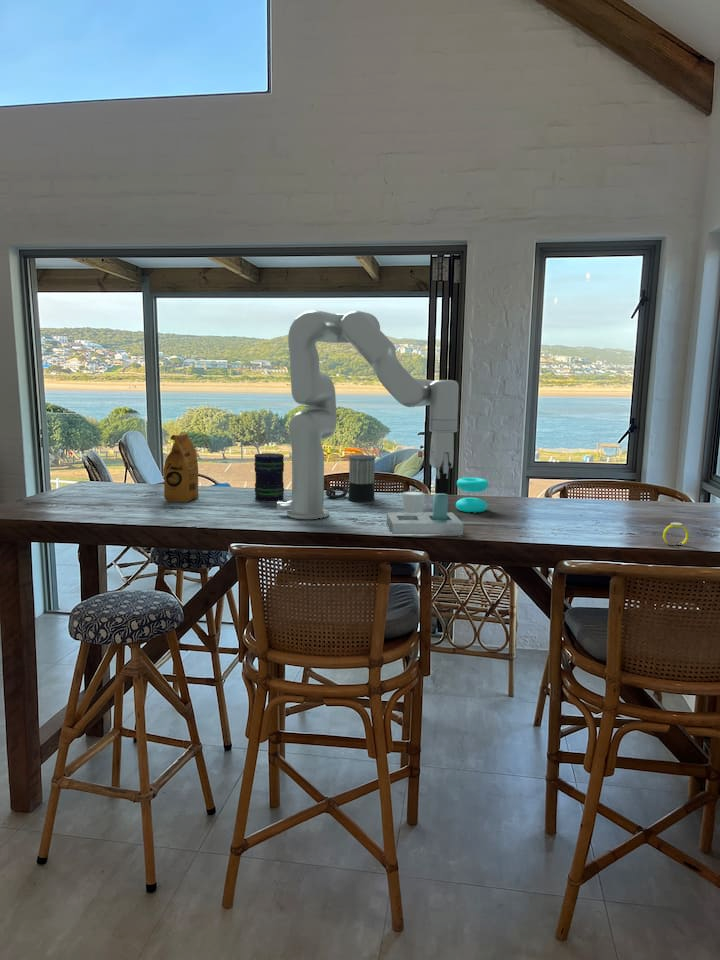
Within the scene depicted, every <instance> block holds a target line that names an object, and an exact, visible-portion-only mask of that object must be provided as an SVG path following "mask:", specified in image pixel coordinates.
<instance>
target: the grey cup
mask: <svg viewBox="0 0 720 960" xmlns="http://www.w3.org/2000/svg"><path fill="white" fill-rule="evenodd" d="M425 496H426V493H425V492H422V491H415V490H411V491H404V492H402V504H403V505H402V507H403V512H424V506H425V498H426V497H425Z"/></svg>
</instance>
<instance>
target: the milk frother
mask: <svg viewBox="0 0 720 960" xmlns="http://www.w3.org/2000/svg"><path fill="white" fill-rule="evenodd" d="M348 459H349V467H348V469H349V471H348V476H349V477H348V478H349V479H348V480H349V482H348V483H349V484H348V489H347V488H345V487H344V486H342V485H333V486H331V487H329V488H327V489H326V490H325V495H326V496H327V498H328V497H329V498H330V499H331V498H332V499H343V498H345V497H346V496H347V495H348V498H347V500H348V501H350V502H354V503H356V502H357V503H370V502H373V501H375V468H376V467H375V463H376V462H375V461H376V456H374V455H373V456H372V455H366V454H365V455H363V454H362V455H361V454H360V455H359V454H357V455H349V456H348ZM337 490H339V491H342V492H343V493H341V494H336V491H337Z"/></svg>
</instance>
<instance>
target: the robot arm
mask: <svg viewBox="0 0 720 960" xmlns="http://www.w3.org/2000/svg"><path fill="white" fill-rule="evenodd" d="M287 335H288V336H287V337H288V338H287V341H288V352H289V370H290V372H289V373H290V387H291V388H290V389H291V396H292V399H293V400H294V402H295V403H297V404H299V405H301V406H307V409H303V410H300V411H298V412H296V413H295V414H294V415H293V416H292V417H291V418H290V420H289V424H288V434H289V439H290V447H291V448H290V449H291V499H290V500H288V501H287V502H286V501H285V502H284V501H276V509H281V510H287V511H286V515H287V517H288V518H292V519H297V520H319V519H318V518H320V519H324V518H327V517H328V516H329V514H330V513H329V510H328V509H325V507H324V506H325V503H324V501H325V499H324V498H325V496H324V495H325V491H324V490H325V457H324V456H325V455H324V448H323V444H322V441H323V440H327V439H329V438H330V437H332V436H333V435H334V433H335V432H336V428H337V422H338V421H337V402H336V401H337V400H336V399H337V398H336V388H335V384H334V383H333V380H332V379H331V377H329V376H328V375H327V374H325V373H322V372H320V371H321V370H320V357H319V352H318V349H317V347H316V343H318V342H322V343H330V344H331V343H335V344H336V343H339V344H341V343H342V344H343V343H344V344H351V346H353V348H354V349H355V350H356V351H357V352H358V353H359V354H360V355H361V356H362V357H363V358H364V360H365V361H366V362H367V363H368V364H369V365H370V366H371V368H372V370H373V372H374V374H375V375H376V377H377V379H378V381H380V383H381V385H382V386H383V387H384V388H385V390H386V391H387V392H388V393H389V394H390V395H391V396H392V397H393V398H394V400H396V401H397V402H398V403H399V404H400V405H403V406H404V407H406V408H415V407H424V406H429V425H428V426H429V428H428V429H429V432H431V437H430V446H429V447H430V449H429V465H430V466H431V467H433V468H434V469H435V483H434V484H435V485H434V489H435V490H434V492H435V494H438V493H440V494H448V492H449V491H448V490H449V469H453V467H454V457H455V456H454V453H455V451H454V449H455V448H454V443H455V442H454V440H455V439H454V438H455V437H454V435H455V434H454V433H457V432H458V421H459V420H458V411H459V391H460V390H459V389H460V388H459V382H458V381H457V380H453V379H436V380H431V379H426V378H414V377H413V376H412V375H411V374H410V373H409V372H408V371H407V369H406V368H405V367H404V366H403V364H401V363H400V361H399V359H398V357H397V353H396V352H397V350H396V345H395V344H394V343H393V342H392V341H391V340H390V339H389V338H388V337H387V336H386V335H385V333H384V332H382V330H381V325H380V322H379V320H378V318H377V317H376V316H375V315H374V314H371V313H369V312H366V311H360V310H352V311H349V312H348V313H331V312H327V311H322V310H317V309H316V310H308V311H303V313H301V314H299V315H298V316H297V317H295V318H294V320H293V322H292V323H291V325H290V327H289V330H288V334H287ZM323 517H324V518H323Z"/></svg>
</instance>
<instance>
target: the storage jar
mask: <svg viewBox="0 0 720 960" xmlns="http://www.w3.org/2000/svg"><path fill="white" fill-rule="evenodd" d="M284 456H285V455H284V454H282V453H275V452H274V453H273V452H272V453H270V452H269V453H267V452H266V453H257V454H254V472H255V482H254V496H255V497H254V500H255V501H257V500H258V502H263V501H265V502H267V501H275V502H279V501H278V500H281V501H283V500H284V495H285V493H284V492H285V487H284V485H285V483H284V471H285V469H284V468H285V462H284ZM267 503H268V502H267Z"/></svg>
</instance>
